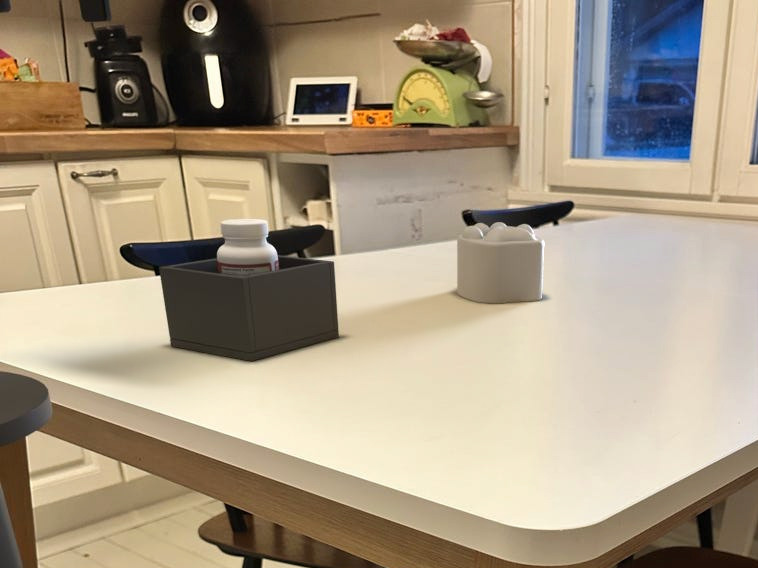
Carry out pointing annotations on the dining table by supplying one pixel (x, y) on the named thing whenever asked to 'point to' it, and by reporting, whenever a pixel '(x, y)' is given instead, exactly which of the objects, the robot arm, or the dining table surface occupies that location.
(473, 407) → the dining table surface
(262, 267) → the pill bottle
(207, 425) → the dining table surface
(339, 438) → the dining table surface
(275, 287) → the basket
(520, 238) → the lumpy-topped squat cylinder
